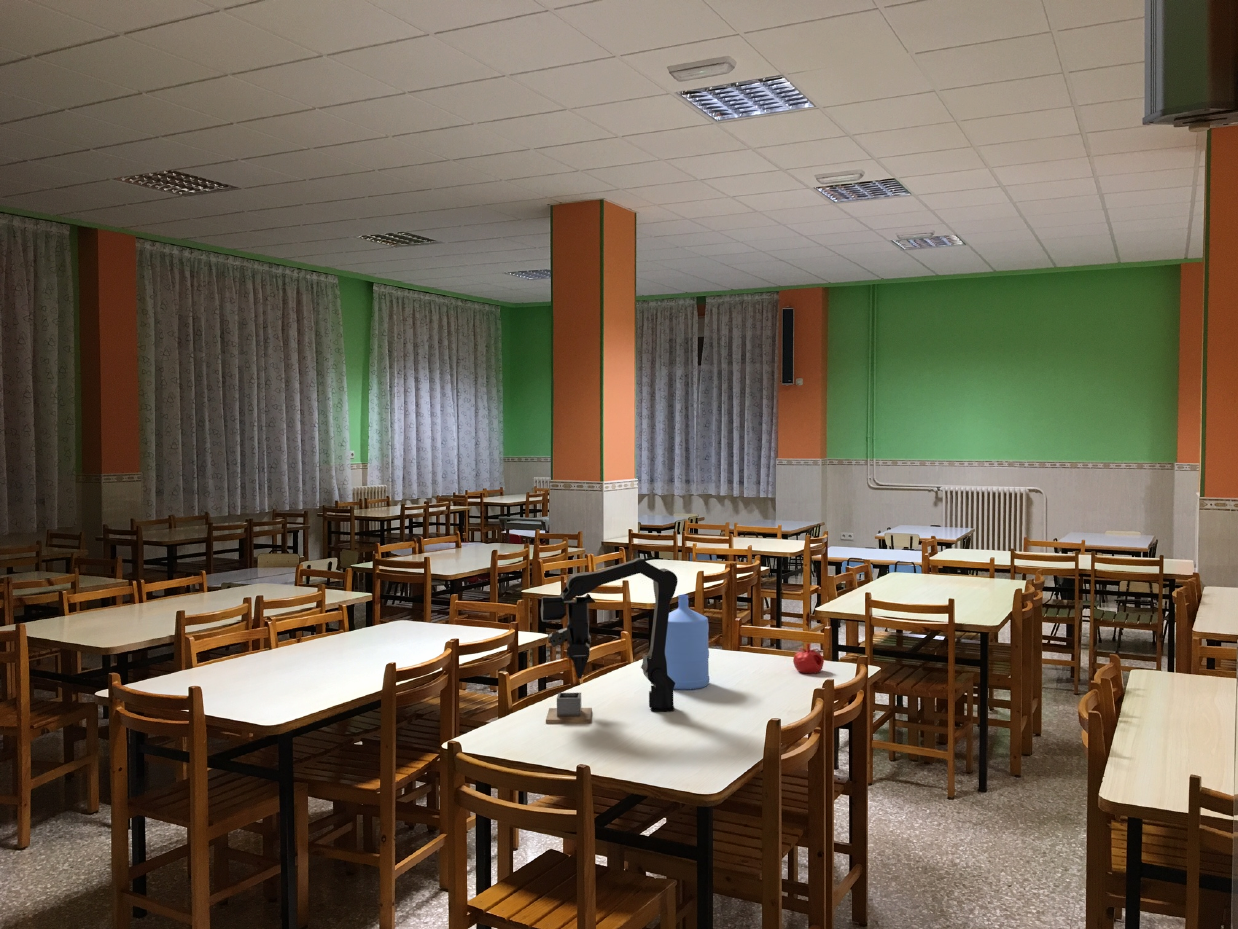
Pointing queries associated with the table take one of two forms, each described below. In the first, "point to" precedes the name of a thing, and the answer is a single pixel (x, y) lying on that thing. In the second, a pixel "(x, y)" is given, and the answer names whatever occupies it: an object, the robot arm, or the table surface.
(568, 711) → the grey cube shelf
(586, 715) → the post block
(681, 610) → the water jug
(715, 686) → the table surface
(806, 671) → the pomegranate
